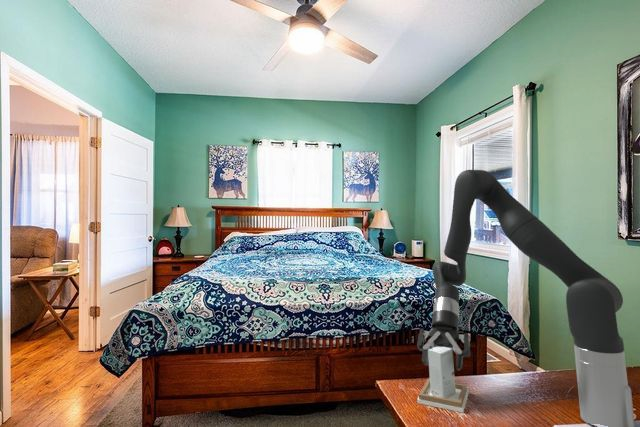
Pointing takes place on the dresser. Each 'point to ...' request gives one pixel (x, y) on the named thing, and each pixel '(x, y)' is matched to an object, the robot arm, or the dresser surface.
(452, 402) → the tray
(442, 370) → the skincare box
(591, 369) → the robot arm
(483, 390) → the dresser surface
